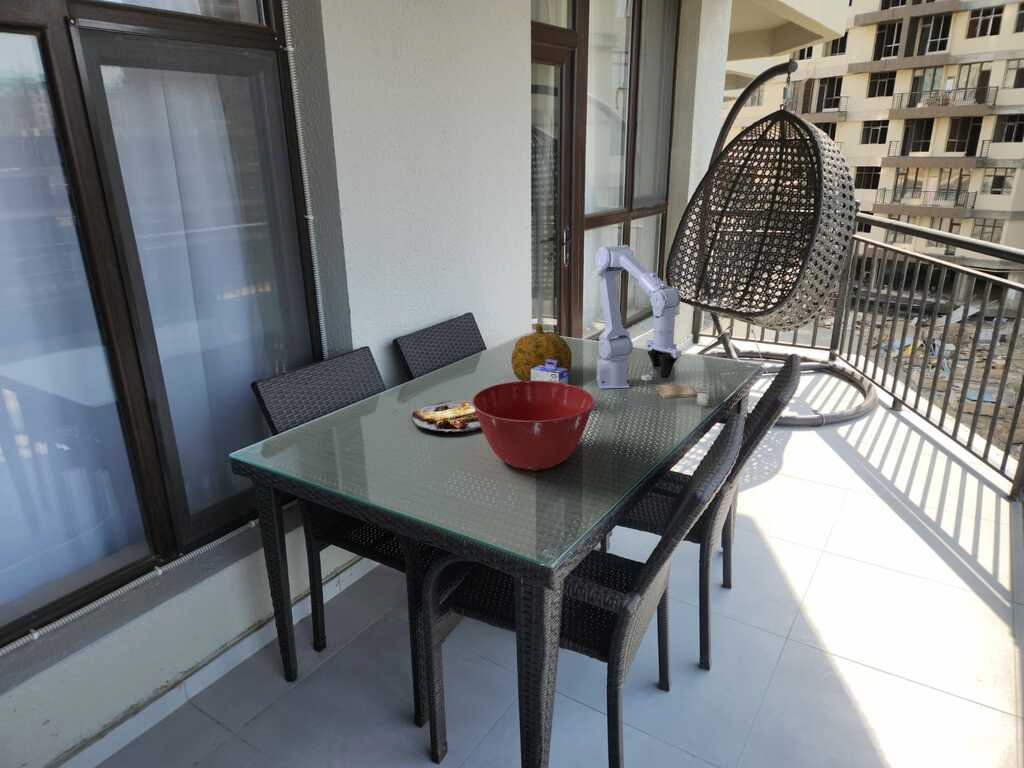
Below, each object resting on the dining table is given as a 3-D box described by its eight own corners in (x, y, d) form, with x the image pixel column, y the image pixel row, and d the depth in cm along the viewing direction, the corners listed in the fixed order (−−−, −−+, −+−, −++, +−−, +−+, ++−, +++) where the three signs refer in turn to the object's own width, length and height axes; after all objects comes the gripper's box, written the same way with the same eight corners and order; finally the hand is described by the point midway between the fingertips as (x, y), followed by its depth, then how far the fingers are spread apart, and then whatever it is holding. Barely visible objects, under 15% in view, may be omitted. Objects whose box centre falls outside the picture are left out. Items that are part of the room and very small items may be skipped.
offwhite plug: (696, 398, 193) (696, 387, 192) (706, 399, 192) (707, 387, 191) (697, 408, 185) (698, 396, 183) (708, 409, 184) (709, 397, 183)
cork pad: (663, 398, 194) (664, 395, 193) (655, 388, 203) (655, 385, 203) (696, 397, 194) (696, 394, 194) (686, 387, 203) (687, 384, 203)
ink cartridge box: (569, 408, 187) (569, 361, 183) (559, 414, 183) (558, 365, 179) (540, 403, 193) (540, 356, 188) (530, 408, 189) (529, 360, 184)
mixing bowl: (613, 450, 158) (615, 390, 153) (554, 496, 136) (554, 428, 131) (518, 428, 173) (516, 374, 169) (450, 467, 151) (447, 405, 146)
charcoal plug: (670, 377, 191) (670, 364, 189) (676, 380, 188) (677, 367, 187) (640, 382, 187) (640, 369, 186) (646, 385, 184) (646, 372, 183)
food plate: (432, 443, 165) (431, 430, 164) (399, 418, 184) (398, 406, 183) (515, 425, 177) (515, 413, 176) (476, 403, 196) (475, 392, 195)
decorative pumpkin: (587, 375, 215) (582, 317, 208) (546, 396, 201) (540, 335, 195) (542, 367, 229) (536, 313, 222) (501, 386, 215) (493, 329, 208)
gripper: (691, 334, 178) (688, 380, 182) (661, 324, 191) (659, 368, 195) (670, 336, 176) (667, 384, 180) (640, 326, 188) (639, 371, 193)
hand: (661, 376), depth 187 cm, fingers closed on charcoal plug, 3 cm apart
